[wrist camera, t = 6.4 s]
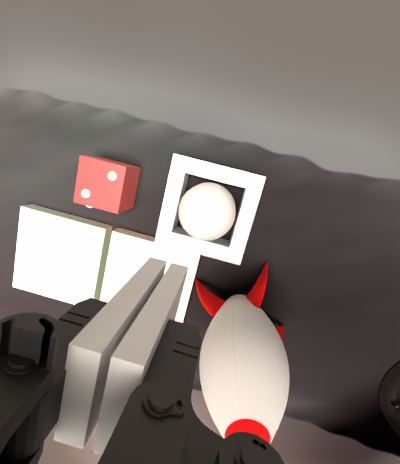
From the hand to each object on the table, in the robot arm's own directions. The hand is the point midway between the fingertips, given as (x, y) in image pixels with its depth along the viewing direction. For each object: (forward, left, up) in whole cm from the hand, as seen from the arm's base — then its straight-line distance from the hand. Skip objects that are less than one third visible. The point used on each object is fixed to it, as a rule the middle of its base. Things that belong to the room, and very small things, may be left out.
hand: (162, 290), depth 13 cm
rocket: (-14, +6, -30) cm, 33 cm away
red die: (+11, +8, -29) cm, 32 cm away
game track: (+3, +18, -29) cm, 35 cm away
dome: (0, 0, -28) cm, 28 cm away
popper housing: (0, 0, -29) cm, 29 cm away
